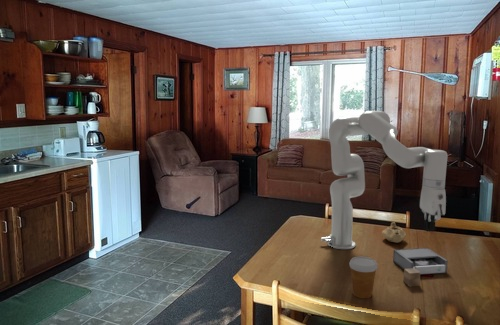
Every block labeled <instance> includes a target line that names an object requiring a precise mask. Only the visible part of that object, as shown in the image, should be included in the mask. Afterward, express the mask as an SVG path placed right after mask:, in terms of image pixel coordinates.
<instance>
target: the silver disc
mask: <svg viewBox="0 0 500 325" xmlns="http://www.w3.org/2000/svg"><path fill="white" fill-rule="evenodd" d="M411 261H412V262H413V263H414V266H428V265H429V259H427V258H418V259H411Z"/></svg>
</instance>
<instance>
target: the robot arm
mask: <svg viewBox="0 0 500 325" xmlns="http://www.w3.org/2000/svg"><path fill="white" fill-rule="evenodd" d="M328 128H329V129H328V137H329V138H328V139H329V144H330V156H331V158H330V159H331V169H332V173H333V174H334V175H335V176H340V177H342V176H343V178H339V179H335V180H334V181H332V182H331V183H330V186H329V193H330V201H331V229H330V230H331V233H330V234H329V236H323V237H320V241H321V242H325V243H327V245H328V246H329V247H330V246H331V248H332V247H333V249H336V250H337V249H338V250H352V249H353V248H355V247H356V242H355V241H353V224H354V223H353V222H354V221H353V212H354V211H353V210H354V208H353V204H352V201H351V199H352V198H357V197H360V196H362V195H363V194H364V192H365V190H366V178H365V176H366V175H365V163H364V161H363V159H362V157H361V156H360V155H359V154H357V153H351V145H350V142H349V140H348V138H347V137H349V136H362V135H369V136H371V137H372V138H373V139H375V141H377V142H378V143H380V144H381V146H382V150H383V151H384V153H385V155H386V156H387V157H388V158H389V159H390V160H391V161H393V162H394V163H396V165H398V166H400V167H401V168H404V169H412V168H420V167H423V171H422V172H423V174H422V184H421V185H422V186H421V190H420V191H421V192H420V198H419V208H420V210H421V212H422V213H423V215H424V231H425V232H435V230H436V222H437V221H438V220H441V219H442V217H441V216H445V214H446V209H447V208H446V206H447V204H446V203H447V196H446V194H447V193H446V189H445V188H446V176H447V164H448V153H447V151H445V150H442V149H432V148H428V147H424V146H416V147H413V146H412V147H407V146H405V145H404V144H402V143H401V142H400V141H399V140H398V139H397V136H398V133H399V131H398V129H397V127H396V126H394V125H393V124H391V117H390V116H389V114H388V113H387V112H385V111H383V110H366V111H364V112H363V113H362V114H360V115H358V116H343V117H338V118H336V119H334V120H333V121H332V122H331V124H330V125H329V127H328ZM344 176H347V177H344Z"/></svg>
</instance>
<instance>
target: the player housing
mask: <svg viewBox="0 0 500 325" xmlns="http://www.w3.org/2000/svg"><path fill="white" fill-rule="evenodd" d="M392 255H393V256H392V258H393V259H392V262H393V263H395V264H396V265H397V266H398V267H400V269H403V270H404V269H410V268H413V266H414V263H413V262H412V261H411V260H409V259H418V258H430V259H432V260H433V261H435V262H436V263H438V264H439V265H443V264H444V265H445V272H443V273H442V274H446V273H447V272H448V259H446V258H445V257H443V256H441V255H440V254H438V253H436V252H435V251H433V250H431V249H430V248H428V247H417V248H403V249H393V254H392ZM431 274H434V275H435V274H436V273H428V274H427V275H431Z"/></svg>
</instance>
